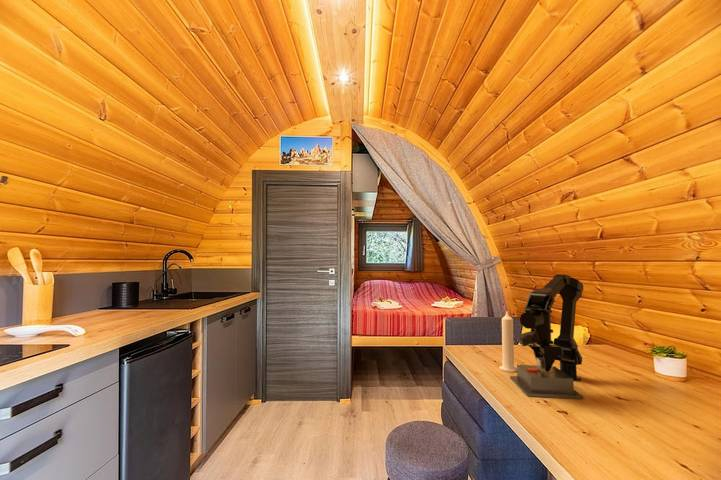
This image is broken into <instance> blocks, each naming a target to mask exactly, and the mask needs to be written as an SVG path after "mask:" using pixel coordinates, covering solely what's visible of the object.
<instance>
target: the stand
mask: <svg viewBox="0 0 721 480" xmlns="http://www.w3.org/2000/svg"><path fill="white" fill-rule="evenodd" d="M516 368H517V372H516V375H510V376H509V379H510V380H511V381H512V382H513V383H514V384H515V385H516V387H518V388H519V389H520V390H521V392H522V393H523V394H524V395H525V396H526V397H528V398H530V397H531V398H549V399H550V398H551V399H568V400H569V399H571V400H573V399H574V400H584V395H582V394H581V393H580V392H578V391H577V390H575V388H574V385H575V384H574V380H573V378H571V377H570V376H568V375H567V374H565V373H564V372H562V371H561V370H560V368H558V367H556V366H555V365H554V366H553V365H552V367H551V369H550V373H539V372H538V370H537V365H534V364H533V365H531V364H529V365H528V364H517V365H516Z"/></svg>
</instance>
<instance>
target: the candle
mask: <svg viewBox="0 0 721 480" xmlns="http://www.w3.org/2000/svg"><path fill="white" fill-rule="evenodd" d="M501 343H502V344H501V345H502V347H501V348H502V349H501V350H502V353H501V354H502V356H501V357H502V365H500V366H499V370H501V371H503V372H506V373H517V366H516V367H515V350H514V349H515V348H514V347H515V346H514V343H515V341H514V319H513V318H512V317H511V316H510V314H509V311H508V310H507V311H506V313H505V315H504V316H503V317H502V318H501Z"/></svg>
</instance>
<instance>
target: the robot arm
mask: <svg viewBox="0 0 721 480" xmlns="http://www.w3.org/2000/svg"><path fill="white" fill-rule="evenodd" d="M583 291H584V284H583V283H582V282H581V281H580V280H579V279H576V278H574V277H572V276H569V275H568V274H555V275H553V277H552V278H551V280H550V281H548V282H547V283H546V284H545V285H544V286H543V287H541V288H537V289H534V290H533V291H531V292H530V293H529V295H528V299H527V301H526V304H525V307H524V312H523V313H521V314H520V317H519V322H520V325H521V326H522V327H523V328H525V329H528V330H529V329H530V330H529V331H527V332H523V333H520V334H517V335H516V337H517V340H518V342H519V343H518V344H519V345H522V347H529V348H530V349H531V350H532V351H533V352H532V353H533V355H534V357H535V361H536V362H537V358H543V360H544V366H545V371H546V372H549V371H550V369H551V367H552V366H553V365H554V363H555V361H559V370H561V371H562V372H564V373H565V374H567V375H568V376H570V377H571V378H573V381H576V380H577V381H578V380H579V381H581V379H582V378H580V377H579V376H578V375H577V374H578V372H577V371H578V370H577V366H578V365H581V366H582V363H583V356H582V354H581V353H580V351H579V349H578V348H579V345H578V343H577V342H576V340H575V338H574V337H575V336H574V335H575V323H576V322H575V321H576V308H577V302H578V301H579V300H580V298H581V297H582V296H583V295H582V293H583ZM558 294H559V297H561V299H562V301H561V302H562V305H561V314H560V315H561V316H560V325H559V335H558V336H557V337H555V338H554V339H553V340H552V333H554V330H553V329H552V327H551V326H552V324H551V321H552V320H551V319H552V318H551V314H552V313H553V311H552V307H553V305H554V304H555V302H556V301H555V297H556V296H557V295H558Z"/></svg>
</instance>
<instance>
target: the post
mask: <svg viewBox="0 0 721 480" xmlns="http://www.w3.org/2000/svg"><path fill="white" fill-rule="evenodd" d="M536 366H537V370H538V372H539V373H550V371H549V372H546V371H545V366H544V360H543V358H537V361H536Z"/></svg>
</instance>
